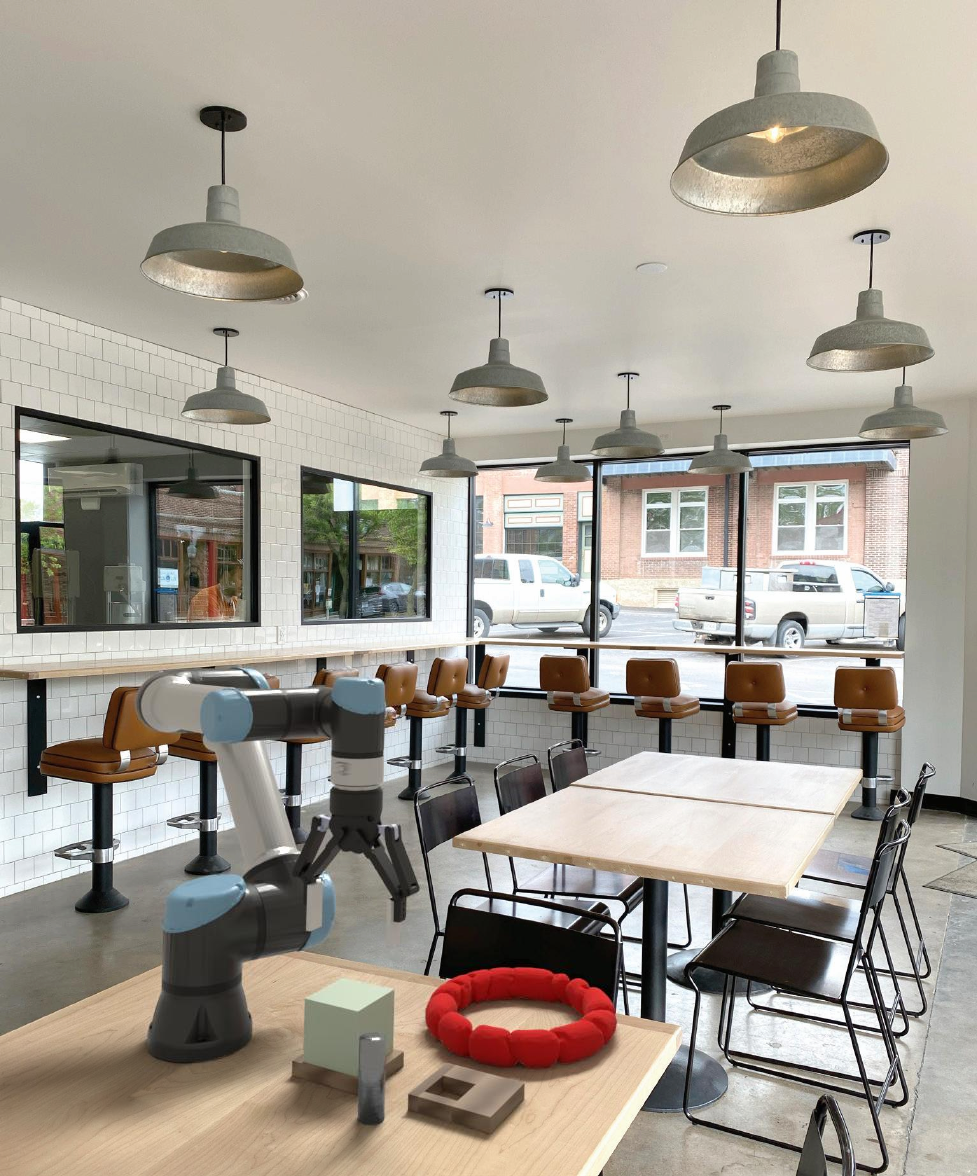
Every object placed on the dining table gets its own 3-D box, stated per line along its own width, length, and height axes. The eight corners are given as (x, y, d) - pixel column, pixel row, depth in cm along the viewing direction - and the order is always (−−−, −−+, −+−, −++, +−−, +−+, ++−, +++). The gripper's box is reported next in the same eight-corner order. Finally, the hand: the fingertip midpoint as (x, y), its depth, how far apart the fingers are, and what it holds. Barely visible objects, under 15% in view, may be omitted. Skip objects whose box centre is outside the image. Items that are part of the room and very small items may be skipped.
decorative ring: (609, 1050, 128) (622, 958, 157) (401, 1028, 134) (450, 943, 163) (609, 1102, 128) (622, 999, 157) (401, 1077, 134) (450, 983, 164)
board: (291, 1075, 129) (293, 1023, 129) (335, 1047, 137) (336, 999, 138) (363, 1096, 123) (364, 1042, 123) (403, 1065, 132) (404, 1015, 132)
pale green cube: (303, 1061, 128) (304, 998, 129) (341, 1037, 136) (343, 977, 137) (356, 1076, 124) (357, 1011, 125) (393, 1050, 132) (394, 989, 133)
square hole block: (407, 1109, 120) (408, 1093, 120) (446, 1077, 129) (446, 1062, 129) (490, 1133, 114) (490, 1117, 114) (524, 1098, 123) (524, 1083, 123)
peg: (352, 1120, 117) (354, 1039, 117) (367, 1108, 120) (369, 1029, 120) (374, 1127, 115) (376, 1045, 116) (389, 1115, 118) (391, 1035, 119)
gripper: (270, 781, 135) (266, 929, 134) (418, 798, 123) (414, 960, 122) (303, 774, 141) (298, 915, 140) (445, 790, 130) (442, 943, 129)
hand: (352, 936), depth 131 cm, fingers open, 13 cm apart
